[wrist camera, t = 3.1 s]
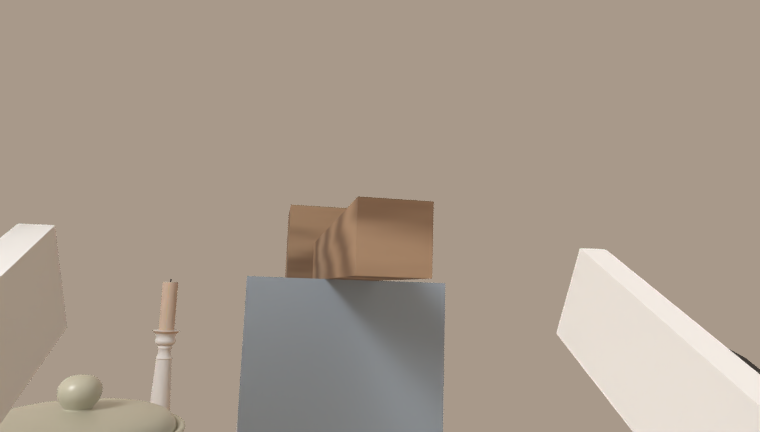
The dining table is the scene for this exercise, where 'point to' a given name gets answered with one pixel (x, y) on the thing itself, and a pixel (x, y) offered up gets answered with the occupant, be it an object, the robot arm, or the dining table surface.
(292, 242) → the walnut mallet
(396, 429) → the gray stand
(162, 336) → the candlestick
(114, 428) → the canister
